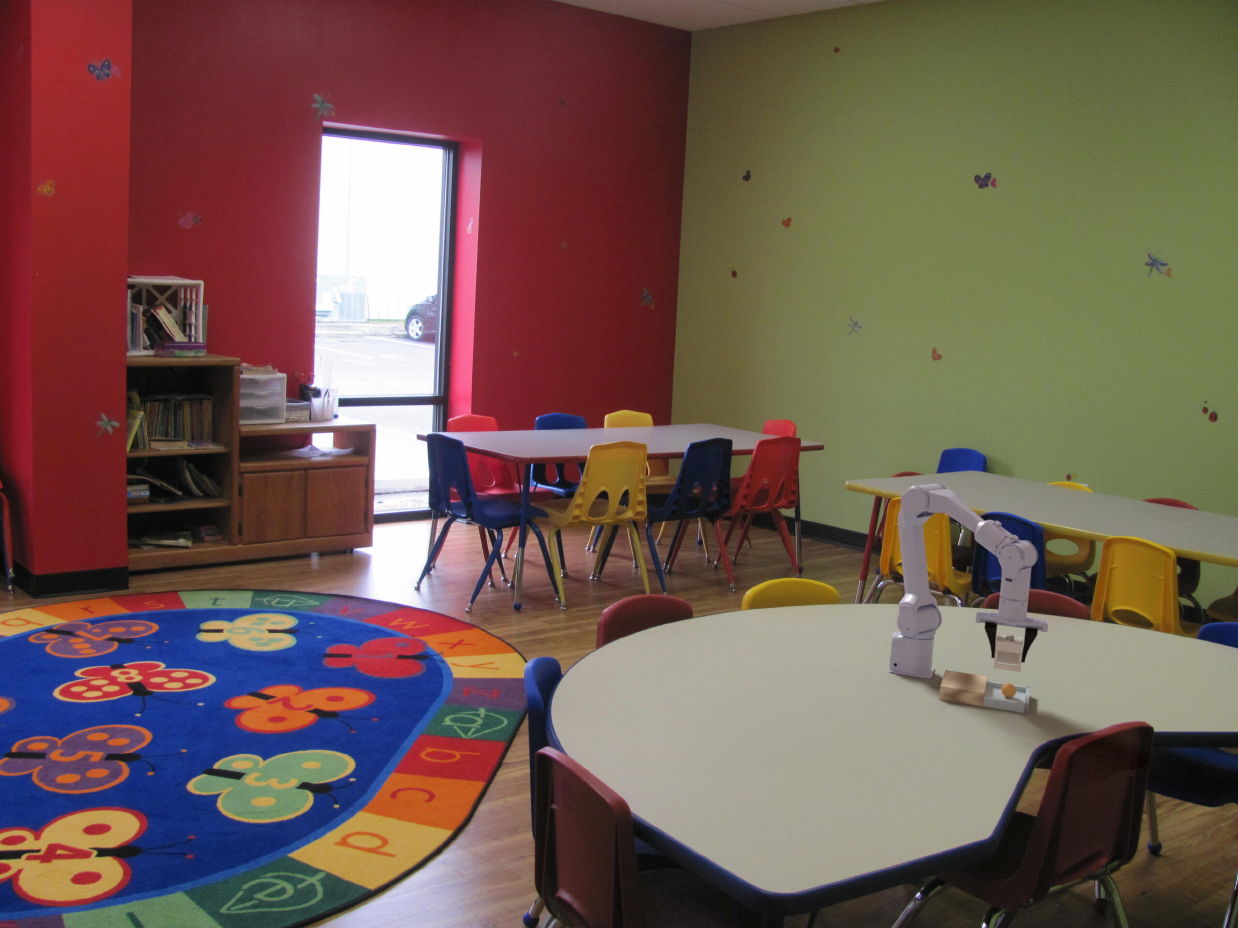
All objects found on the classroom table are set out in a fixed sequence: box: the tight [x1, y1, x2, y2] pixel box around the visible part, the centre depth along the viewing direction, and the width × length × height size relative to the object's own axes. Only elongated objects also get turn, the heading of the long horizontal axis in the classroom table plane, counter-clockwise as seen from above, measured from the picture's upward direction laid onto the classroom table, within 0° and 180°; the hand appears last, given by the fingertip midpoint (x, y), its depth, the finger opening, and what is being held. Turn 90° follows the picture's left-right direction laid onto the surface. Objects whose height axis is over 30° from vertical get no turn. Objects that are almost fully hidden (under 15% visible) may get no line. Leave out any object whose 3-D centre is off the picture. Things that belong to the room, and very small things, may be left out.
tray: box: [982, 680, 1031, 715], centre depth 234 cm, size 9×12×2 cm
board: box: [938, 669, 988, 707], centre depth 238 cm, size 9×12×3 cm
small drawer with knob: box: [993, 633, 1025, 673], centre depth 233 cm, size 5×5×7 cm
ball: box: [1001, 682, 1016, 698], centre depth 234 cm, size 3×3×3 cm
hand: (1008, 658), depth 234 cm, fingers closed on small drawer with knob, 5 cm apart
